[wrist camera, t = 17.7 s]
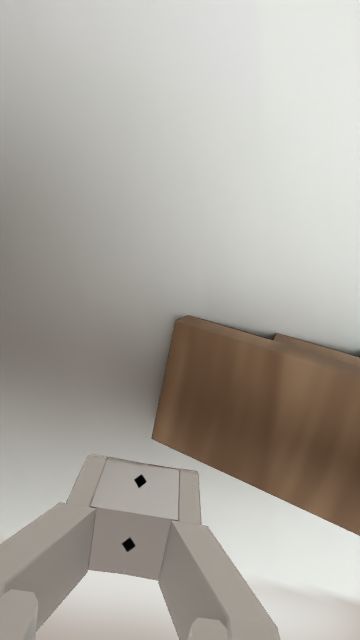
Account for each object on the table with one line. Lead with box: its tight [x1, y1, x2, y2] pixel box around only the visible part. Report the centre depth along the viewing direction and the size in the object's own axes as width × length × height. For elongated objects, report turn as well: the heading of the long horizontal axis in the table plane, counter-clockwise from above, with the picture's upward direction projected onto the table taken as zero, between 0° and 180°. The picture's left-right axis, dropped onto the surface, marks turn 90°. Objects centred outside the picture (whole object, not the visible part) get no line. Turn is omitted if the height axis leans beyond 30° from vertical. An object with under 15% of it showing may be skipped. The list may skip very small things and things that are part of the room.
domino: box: [152, 316, 360, 536], centre depth 13 cm, size 2×6×10 cm
